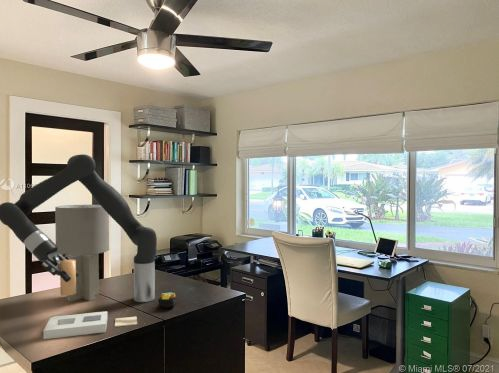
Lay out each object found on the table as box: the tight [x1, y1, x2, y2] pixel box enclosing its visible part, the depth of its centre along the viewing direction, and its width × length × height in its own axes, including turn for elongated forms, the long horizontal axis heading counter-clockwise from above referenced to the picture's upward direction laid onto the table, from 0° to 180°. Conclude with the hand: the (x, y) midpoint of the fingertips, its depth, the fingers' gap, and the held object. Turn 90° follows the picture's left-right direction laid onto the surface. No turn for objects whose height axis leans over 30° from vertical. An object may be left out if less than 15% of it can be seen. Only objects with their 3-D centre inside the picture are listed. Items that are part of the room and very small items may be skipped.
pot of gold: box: [157, 292, 178, 309], centre depth 167 cm, size 6×13×6 cm, turn 0°
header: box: [43, 310, 108, 340], centre depth 141 cm, size 14×20×3 cm
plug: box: [59, 260, 76, 297], centre depth 140 cm, size 5×5×12 cm
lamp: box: [54, 204, 110, 303], centre depth 178 cm, size 23×23×43 cm
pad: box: [114, 316, 138, 328], centre depth 147 cm, size 8×8×1 cm
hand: (73, 278), depth 140 cm, fingers closed on plug, 5 cm apart
